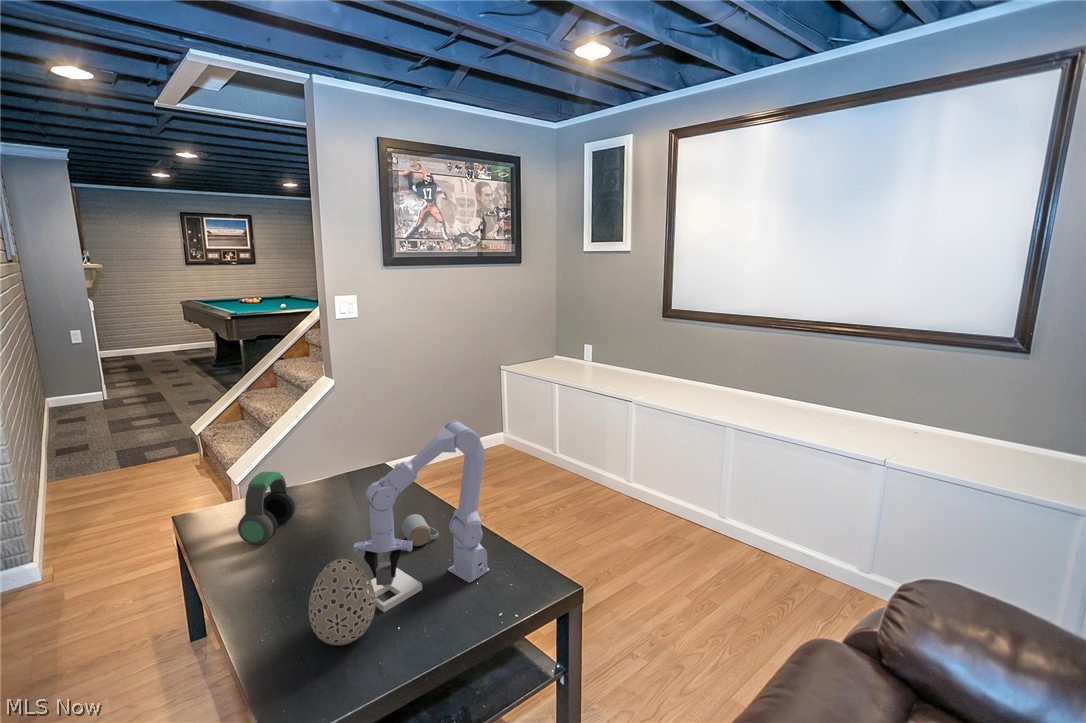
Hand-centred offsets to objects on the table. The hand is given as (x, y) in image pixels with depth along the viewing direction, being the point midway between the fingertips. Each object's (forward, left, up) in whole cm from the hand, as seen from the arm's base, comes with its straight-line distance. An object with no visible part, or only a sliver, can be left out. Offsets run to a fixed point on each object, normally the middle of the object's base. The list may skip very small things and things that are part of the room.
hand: (385, 575), depth 137 cm
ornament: (-5, +14, -7) cm, 17 cm away
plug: (0, 0, -2) cm, 3 cm away
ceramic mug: (+17, -24, -7) cm, 30 cm away
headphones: (+58, +4, -7) cm, 59 cm away
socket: (+2, -3, -7) cm, 8 cm away
